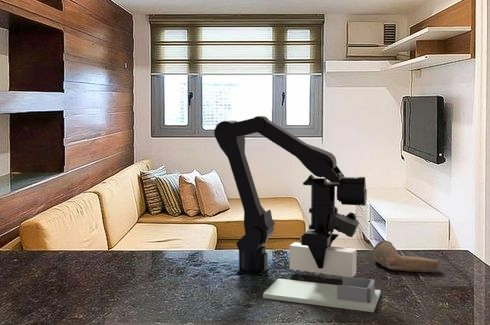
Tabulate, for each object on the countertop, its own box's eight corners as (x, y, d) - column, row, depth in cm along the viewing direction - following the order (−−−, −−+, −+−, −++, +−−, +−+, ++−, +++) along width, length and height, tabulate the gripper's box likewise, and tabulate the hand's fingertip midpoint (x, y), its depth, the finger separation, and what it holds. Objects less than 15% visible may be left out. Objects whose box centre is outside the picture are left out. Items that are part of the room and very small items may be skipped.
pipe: (442, 257, 132) (437, 241, 141) (372, 253, 136) (372, 238, 145) (440, 281, 134) (435, 263, 143) (372, 276, 137) (371, 259, 147)
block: (289, 268, 134) (289, 245, 133) (294, 265, 137) (294, 242, 136) (352, 277, 127) (352, 252, 126) (356, 273, 130) (356, 249, 129)
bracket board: (263, 298, 118) (263, 280, 118) (278, 282, 128) (278, 266, 128) (373, 312, 110) (374, 293, 109) (380, 294, 120) (380, 277, 119)
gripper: (349, 213, 119) (348, 281, 120) (362, 199, 136) (361, 259, 137) (300, 209, 123) (300, 276, 124) (319, 196, 140) (318, 254, 142)
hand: (322, 266), depth 132 cm, fingers closed on block, 4 cm apart
